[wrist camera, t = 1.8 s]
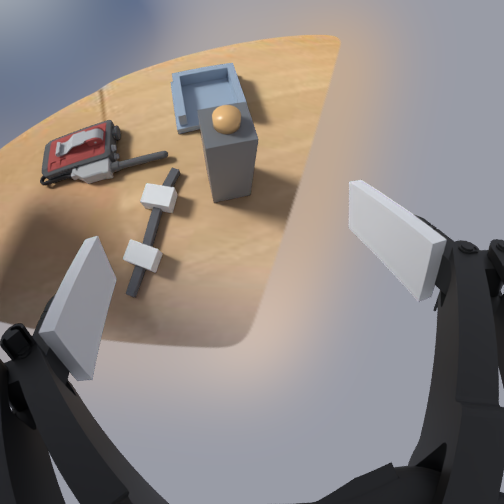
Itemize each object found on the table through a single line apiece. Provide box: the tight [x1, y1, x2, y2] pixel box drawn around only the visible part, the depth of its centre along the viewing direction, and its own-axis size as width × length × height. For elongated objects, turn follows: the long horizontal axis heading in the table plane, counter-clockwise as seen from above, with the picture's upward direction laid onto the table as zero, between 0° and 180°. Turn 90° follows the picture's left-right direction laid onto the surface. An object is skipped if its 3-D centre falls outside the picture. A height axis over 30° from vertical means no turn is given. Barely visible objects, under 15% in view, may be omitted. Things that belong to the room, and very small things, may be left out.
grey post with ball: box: [197, 102, 258, 203], centre depth 29 cm, size 4×4×13 cm
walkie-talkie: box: [40, 120, 168, 185], centre depth 33 cm, size 9×4×20 cm
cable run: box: [123, 168, 180, 297], centre depth 32 cm, size 4×16×2 cm, turn 169°
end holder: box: [171, 63, 247, 134], centre depth 36 cm, size 10×10×3 cm
